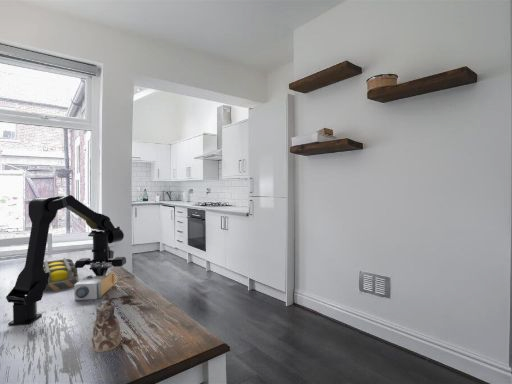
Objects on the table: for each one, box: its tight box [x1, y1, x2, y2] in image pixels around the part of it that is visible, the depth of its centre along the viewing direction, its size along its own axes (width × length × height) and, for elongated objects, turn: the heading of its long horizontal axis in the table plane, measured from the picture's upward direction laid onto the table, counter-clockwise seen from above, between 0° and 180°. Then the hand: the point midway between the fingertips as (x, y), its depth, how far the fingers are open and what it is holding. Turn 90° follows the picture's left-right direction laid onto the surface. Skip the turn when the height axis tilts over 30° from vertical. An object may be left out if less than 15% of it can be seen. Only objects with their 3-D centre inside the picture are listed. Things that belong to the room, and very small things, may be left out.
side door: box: [97, 271, 116, 299], centre depth 121 cm, size 15×1×6 cm, turn 6°
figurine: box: [91, 297, 122, 353], centre depth 81 cm, size 7×7×12 cm
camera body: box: [73, 274, 107, 301], centre depth 118 cm, size 12×8×7 cm, turn 6°
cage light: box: [43, 257, 79, 292], centre depth 136 cm, size 15×8×30 cm
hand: (101, 282), depth 125 cm, fingers closed
